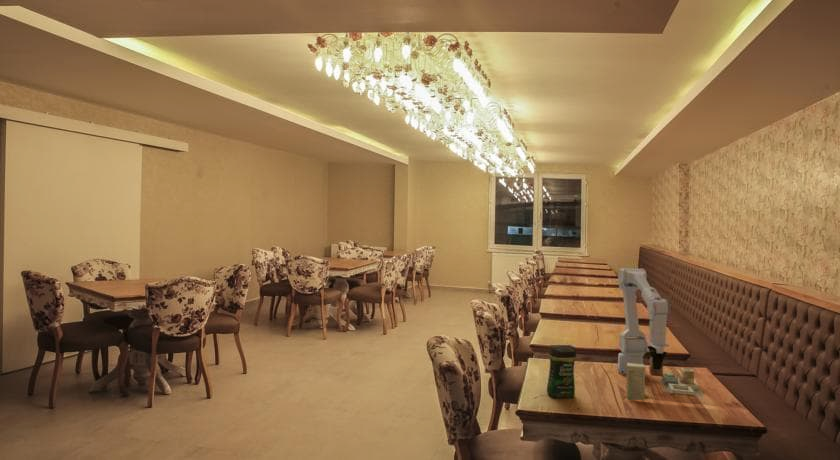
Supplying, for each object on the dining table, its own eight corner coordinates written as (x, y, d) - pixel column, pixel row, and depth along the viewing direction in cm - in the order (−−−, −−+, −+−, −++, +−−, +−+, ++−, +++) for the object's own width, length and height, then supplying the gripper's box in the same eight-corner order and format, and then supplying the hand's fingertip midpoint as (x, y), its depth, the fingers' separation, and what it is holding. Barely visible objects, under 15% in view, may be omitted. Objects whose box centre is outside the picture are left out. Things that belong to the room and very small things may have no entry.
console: (663, 384, 210) (664, 376, 210) (661, 380, 215) (662, 373, 215) (677, 386, 209) (678, 378, 209) (675, 381, 214) (675, 374, 214)
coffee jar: (552, 399, 195) (553, 348, 194) (544, 392, 203) (545, 342, 202) (578, 398, 197) (579, 347, 196) (569, 391, 204) (570, 342, 204)
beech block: (682, 386, 209) (682, 370, 208) (680, 383, 213) (680, 367, 212) (693, 387, 208) (694, 371, 207) (691, 384, 212) (692, 368, 211)
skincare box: (644, 397, 200) (645, 364, 199) (644, 401, 196) (646, 367, 195) (625, 394, 202) (626, 362, 201) (625, 398, 198) (626, 365, 197)
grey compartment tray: (667, 395, 201) (668, 389, 201) (661, 383, 216) (661, 377, 216) (703, 399, 198) (704, 393, 198) (694, 386, 213) (695, 380, 213)
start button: (666, 382, 211) (667, 375, 211) (665, 379, 214) (665, 373, 214) (674, 382, 211) (674, 376, 210) (672, 380, 213) (673, 374, 213)
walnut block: (651, 375, 204) (651, 359, 203) (649, 372, 207) (650, 356, 207) (662, 376, 203) (663, 360, 202) (660, 373, 206) (661, 357, 206)
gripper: (672, 336, 196) (671, 374, 197) (665, 328, 210) (664, 363, 211) (651, 335, 198) (650, 372, 199) (646, 326, 212) (644, 361, 213)
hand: (656, 367), depth 205 cm, fingers closed on walnut block, 4 cm apart
